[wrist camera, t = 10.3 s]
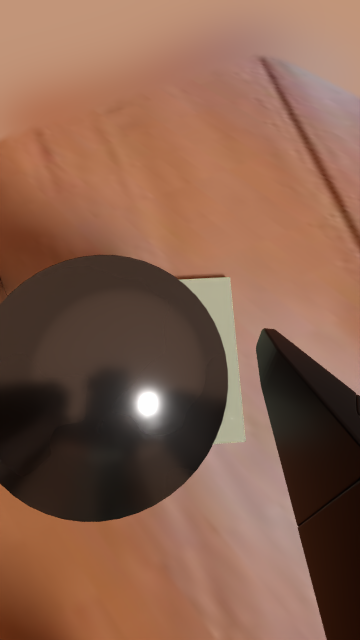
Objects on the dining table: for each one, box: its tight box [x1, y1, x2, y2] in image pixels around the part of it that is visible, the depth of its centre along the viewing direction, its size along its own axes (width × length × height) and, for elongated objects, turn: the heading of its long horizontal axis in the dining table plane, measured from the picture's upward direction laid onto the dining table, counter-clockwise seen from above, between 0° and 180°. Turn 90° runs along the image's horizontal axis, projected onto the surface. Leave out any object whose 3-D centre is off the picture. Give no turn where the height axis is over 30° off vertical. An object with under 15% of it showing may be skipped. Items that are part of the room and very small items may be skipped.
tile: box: [180, 277, 246, 444], centre depth 17 cm, size 12×12×1 cm
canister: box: [0, 255, 228, 522], centre depth 11 cm, size 5×5×13 cm
